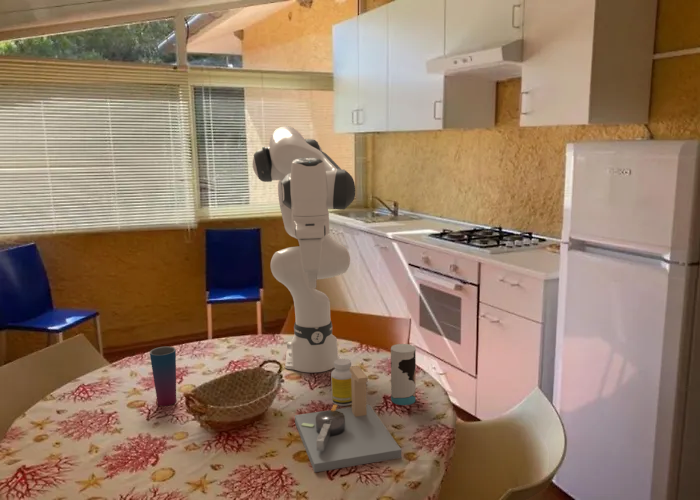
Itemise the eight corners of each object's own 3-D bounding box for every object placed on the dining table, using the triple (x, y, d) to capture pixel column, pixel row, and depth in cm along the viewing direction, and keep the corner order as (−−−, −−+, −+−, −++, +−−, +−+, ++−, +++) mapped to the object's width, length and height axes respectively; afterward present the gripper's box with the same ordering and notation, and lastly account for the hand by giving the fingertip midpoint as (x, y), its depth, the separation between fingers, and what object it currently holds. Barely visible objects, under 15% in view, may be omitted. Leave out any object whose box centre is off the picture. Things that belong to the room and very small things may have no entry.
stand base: (294, 422, 149) (292, 373, 147) (369, 411, 155) (368, 364, 152) (314, 472, 127) (312, 415, 124) (401, 457, 132) (401, 403, 129)
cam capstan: (322, 415, 149) (321, 403, 148) (349, 417, 147) (349, 405, 147) (305, 453, 131) (304, 439, 130) (335, 455, 130) (335, 441, 129)
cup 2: (419, 402, 159) (420, 350, 157) (397, 407, 157) (397, 353, 154) (409, 393, 165) (408, 342, 163) (387, 397, 163) (386, 345, 160)
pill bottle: (352, 407, 157) (351, 366, 155) (329, 406, 158) (328, 365, 156) (357, 397, 163) (356, 357, 161) (334, 395, 165) (333, 356, 163)
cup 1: (159, 409, 158) (155, 357, 156) (150, 401, 163) (145, 350, 161) (183, 402, 162) (179, 350, 160) (173, 394, 168) (169, 344, 165)
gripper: (299, 222, 149) (301, 275, 151) (295, 232, 129) (298, 293, 131) (323, 221, 149) (326, 274, 152) (324, 231, 129) (326, 292, 131)
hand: (313, 283), depth 141 cm, fingers open, 8 cm apart
